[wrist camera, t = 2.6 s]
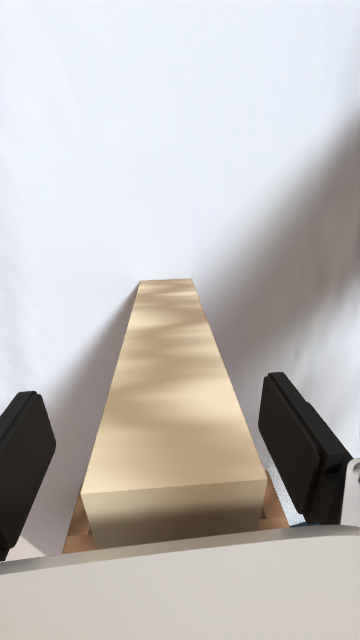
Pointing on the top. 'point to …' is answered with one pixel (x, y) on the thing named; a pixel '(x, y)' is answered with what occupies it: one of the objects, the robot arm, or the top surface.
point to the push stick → (171, 433)
